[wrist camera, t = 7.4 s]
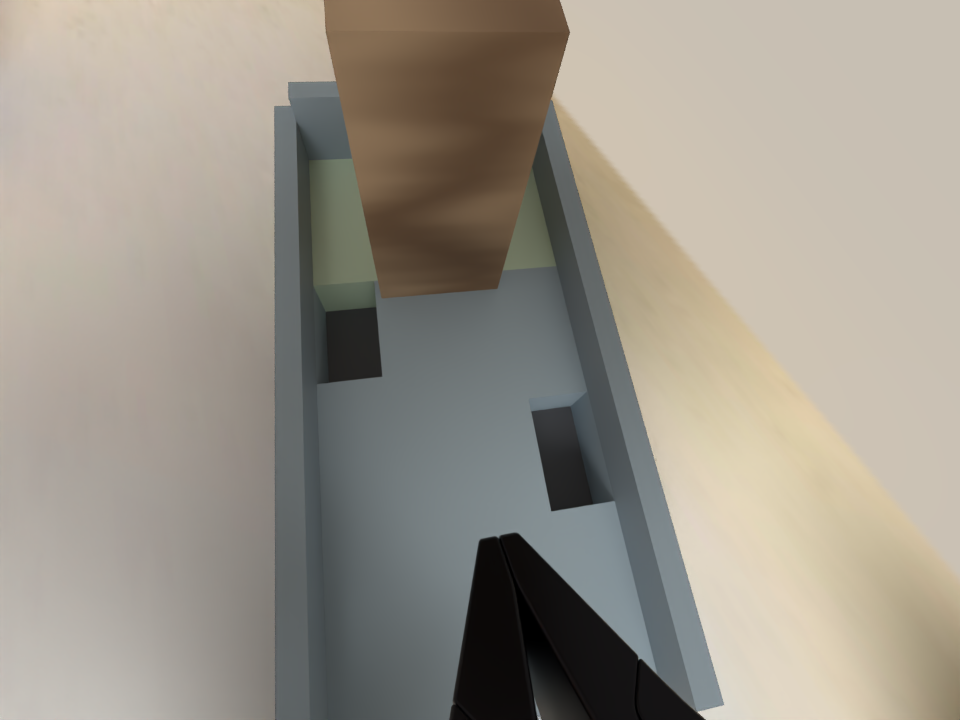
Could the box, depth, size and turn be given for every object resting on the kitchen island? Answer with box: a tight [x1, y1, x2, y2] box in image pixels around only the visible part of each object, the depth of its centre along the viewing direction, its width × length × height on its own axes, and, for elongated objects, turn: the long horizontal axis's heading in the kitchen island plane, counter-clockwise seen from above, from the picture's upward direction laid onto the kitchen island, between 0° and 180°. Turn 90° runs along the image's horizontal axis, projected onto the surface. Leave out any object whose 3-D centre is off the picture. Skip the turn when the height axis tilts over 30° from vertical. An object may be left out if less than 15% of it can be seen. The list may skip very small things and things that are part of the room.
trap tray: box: [274, 82, 724, 720], centre depth 16 cm, size 11×22×6 cm, turn 8°
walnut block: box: [324, 0, 570, 298], centre depth 14 cm, size 5×7×10 cm, turn 8°
